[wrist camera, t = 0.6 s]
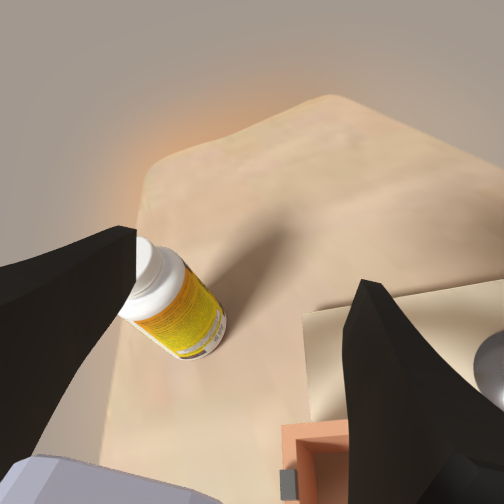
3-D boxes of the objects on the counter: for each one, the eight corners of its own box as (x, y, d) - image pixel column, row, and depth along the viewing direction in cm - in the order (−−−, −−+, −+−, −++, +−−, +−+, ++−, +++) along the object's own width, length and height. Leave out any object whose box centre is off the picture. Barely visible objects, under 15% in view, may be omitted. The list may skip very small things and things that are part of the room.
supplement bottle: (241, 310, 32) (180, 233, 24) (207, 373, 30) (128, 311, 22) (190, 292, 35) (121, 219, 27) (155, 349, 33) (70, 286, 25)
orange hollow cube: (422, 558, 19) (419, 558, 15) (309, 558, 20) (283, 559, 17) (396, 434, 22) (389, 411, 18) (301, 441, 23) (277, 422, 20)
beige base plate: (845, 804, 13) (884, 828, 12) (346, 741, 17) (340, 755, 16) (555, 281, 25) (561, 269, 24) (306, 323, 29) (301, 313, 28)
